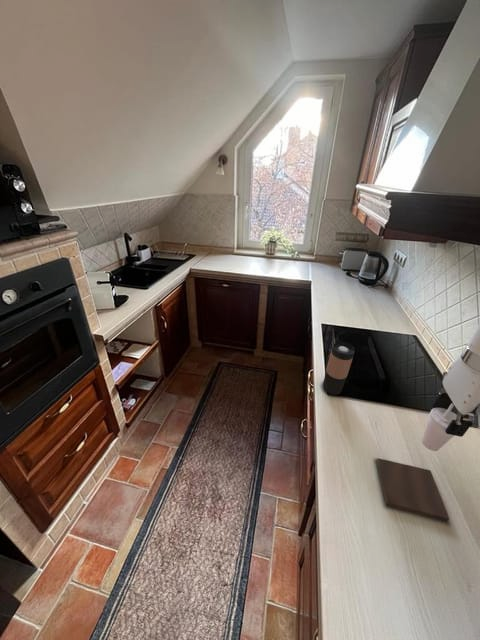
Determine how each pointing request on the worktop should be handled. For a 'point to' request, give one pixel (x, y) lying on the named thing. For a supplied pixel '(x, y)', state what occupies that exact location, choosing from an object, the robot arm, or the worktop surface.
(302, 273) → the worktop surface
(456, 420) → the robot arm
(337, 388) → the travel mug
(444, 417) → the smoothie
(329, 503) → the worktop surface
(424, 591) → the worktop surface
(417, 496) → the walnut board
